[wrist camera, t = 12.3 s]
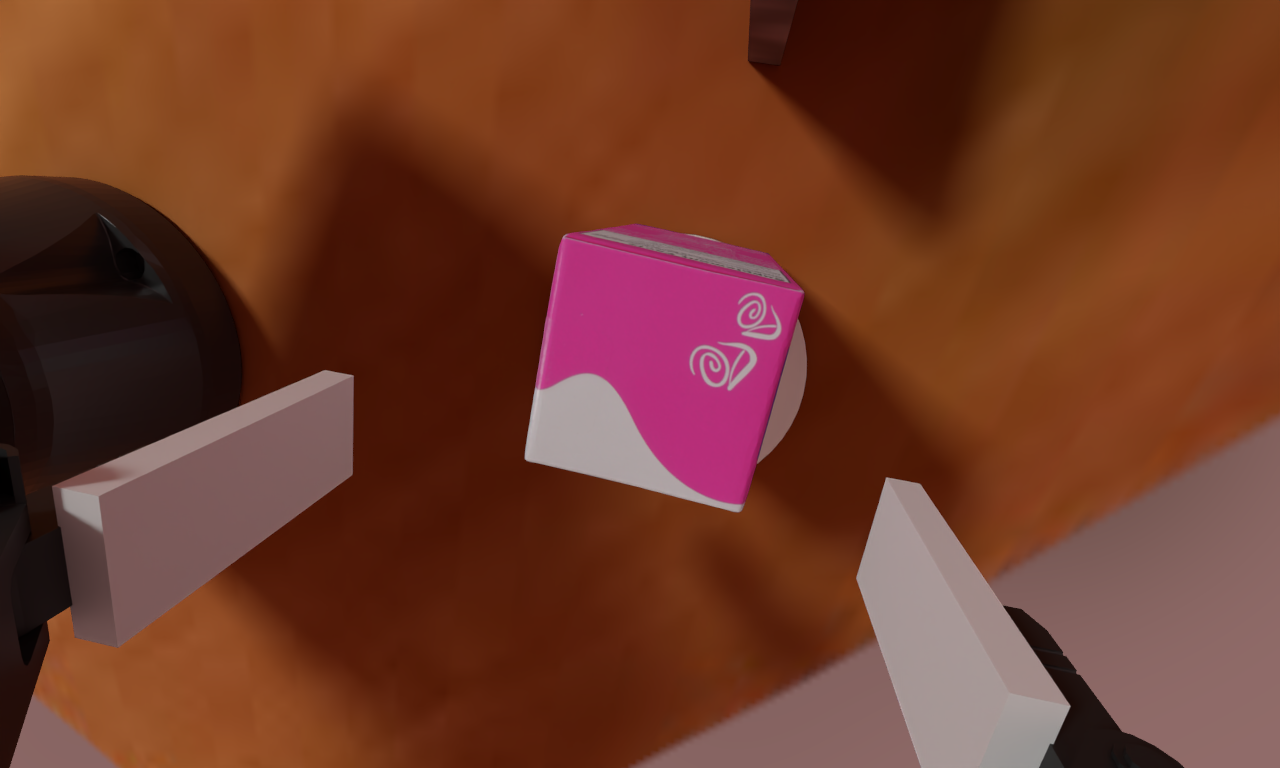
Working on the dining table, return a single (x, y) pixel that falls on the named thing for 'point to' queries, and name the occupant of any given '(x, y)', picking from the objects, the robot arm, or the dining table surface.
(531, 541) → the dining table surface
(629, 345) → the supplement box
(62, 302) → the robot arm
